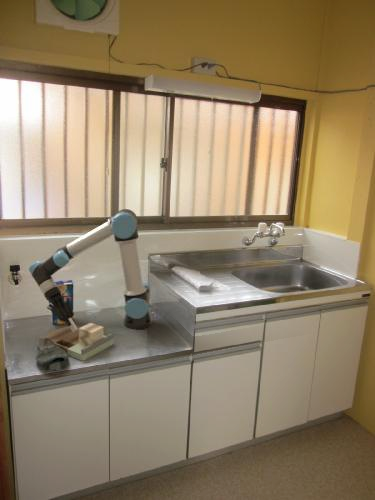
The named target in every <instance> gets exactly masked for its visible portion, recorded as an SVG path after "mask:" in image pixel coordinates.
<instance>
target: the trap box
mask: <svg viewBox="0 0 375 500" xmlns="http://www.w3.org/2000/svg"><path fill="white" fill-rule="evenodd" d="M75 325H76V326H77V328H78V329H77V330H76V331H75V332H72V330H71V329H70V327H68V326H67V325H65V326H62V327H61V328H59V329H56V330H54V331H52V332H50V333H47V334H45V335H43V336H41V337H39V342H40V341H41V339H42V338H49V339H51V340H52V341H53V342H54V345H56V346H59V347H60V348H61V349H63V350H64V351H65V352H66V353H67V355H68V348H70V347H72V346H74V345H76V344H78V343H79V328H81V327H82V326H79V325H77V324H75ZM68 356H69V355H68Z"/></svg>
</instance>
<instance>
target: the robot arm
mask: <svg viewBox="0 0 375 500" xmlns="http://www.w3.org/2000/svg"><path fill="white" fill-rule="evenodd" d="M137 224H138V217H137V215H136V213H135V211H133V210H131V209H127V208H124V209H121V210H119V211H117V212H116V213H115V214H114V215H112V216H111V217H109V218H108V219H107V221H106V222H104V223H103V224H101V225H99V226H97V227H96V228H94V229H92V230H89V232H87V233H84V234H83V235H82V236H80V237H77V238H76V239H75V240H73V241H70V242H69V243H68V244H66V245H64V246H62V247H59V248H58V249H57V250H56V251H55V252H54V253H53V254H52V255H50V257H48V258H47V259H46V260H45V261H44V262H43V261H41V260H40V261H39V260H38V261H35V262H34V263H32V264H30V266H29V268H28V271H29V272H30V274H31V277H32V278H33V279H34V281H35V282H36V284H37V286H38V288H39V290H40V291H41V293H42V294H43V296H44V298H45V300H47V301H48V305H47V306H46V309H48V310H50V311H52V312H53V314H54V315H55V316H56V317H57V318H58V319H59V320H60V321H63V322H66V323H65V324H66V326H68V327H70V329H71V330H72V332H75V331H76V330H77V329H78V328H77V326H78V325H77V324H75V323H76V321H75V320H74V315H75V313H74V309H73V310H72V308H71V305H70V302H69V298H64V297H63V296H62V295H61V291H60V290H59V288H58V287H57V285H56V283H55V282H54V281H55V280H54V279H53V275H54V274H55V273H57V272H58V271H59V270H61V269H63V268H64V267H66V266H67V265H68V264H69V263H70V260H72V259H74V258H76V257H78V256H79V255H81V254H82V253H85V252H86V251H88V250H89V249H92V248H93V247H95V246H96V245H98V244H100V243H102V242H105V240H107V239H109V238H111V237H114V242H116V243H117V244H118V247H119V249H118V250H119V253H120V254H119V255H120V261H121V266H122V272H123V278H124V286H125V290H124V291H123V298H124V303H125V305H124V310H125V315H124V318H123V325H124V327H127V328H129V329H133V330H143V329H147V328H149V327H151V326H152V318H151V313H150V309H149V308H150V292H151V289H150V288H151V287H150V285H149V284H148V283H144V282H143V279H142V272H141V271H142V270H141V266H140V259H139V252H138V245H137V240H138V239H139V232H138V231H139V230H138V225H137ZM72 316H73V318H72ZM76 325H77V326H76Z"/></svg>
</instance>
